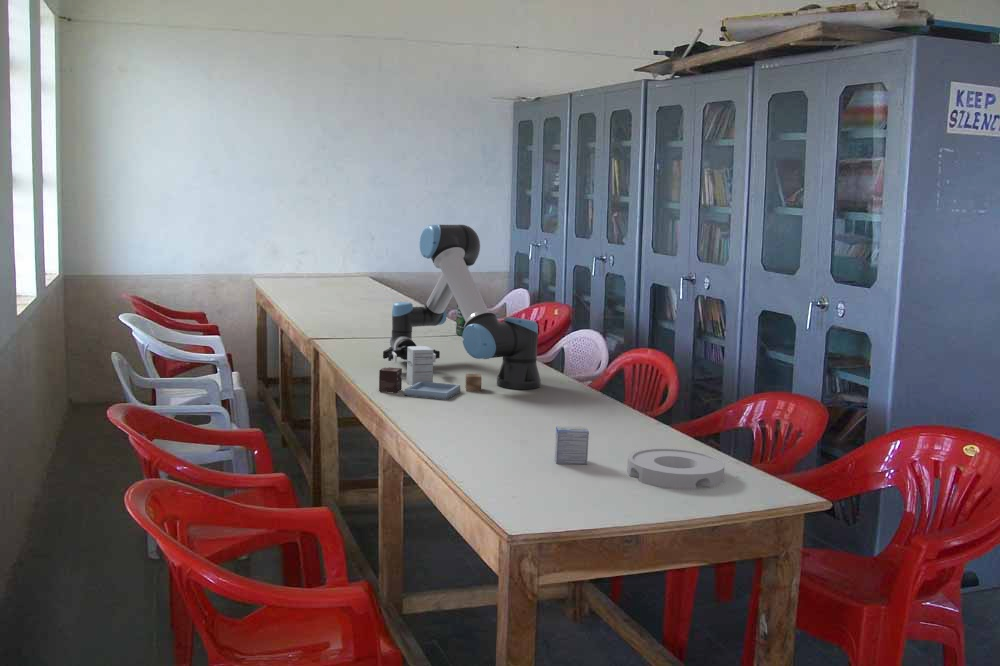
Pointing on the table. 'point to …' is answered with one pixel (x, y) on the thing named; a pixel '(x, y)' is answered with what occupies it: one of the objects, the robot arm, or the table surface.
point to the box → (390, 379)
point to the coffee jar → (460, 322)
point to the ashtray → (675, 468)
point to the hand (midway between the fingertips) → (415, 358)
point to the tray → (432, 390)
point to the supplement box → (419, 364)
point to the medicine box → (571, 445)
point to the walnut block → (473, 382)
